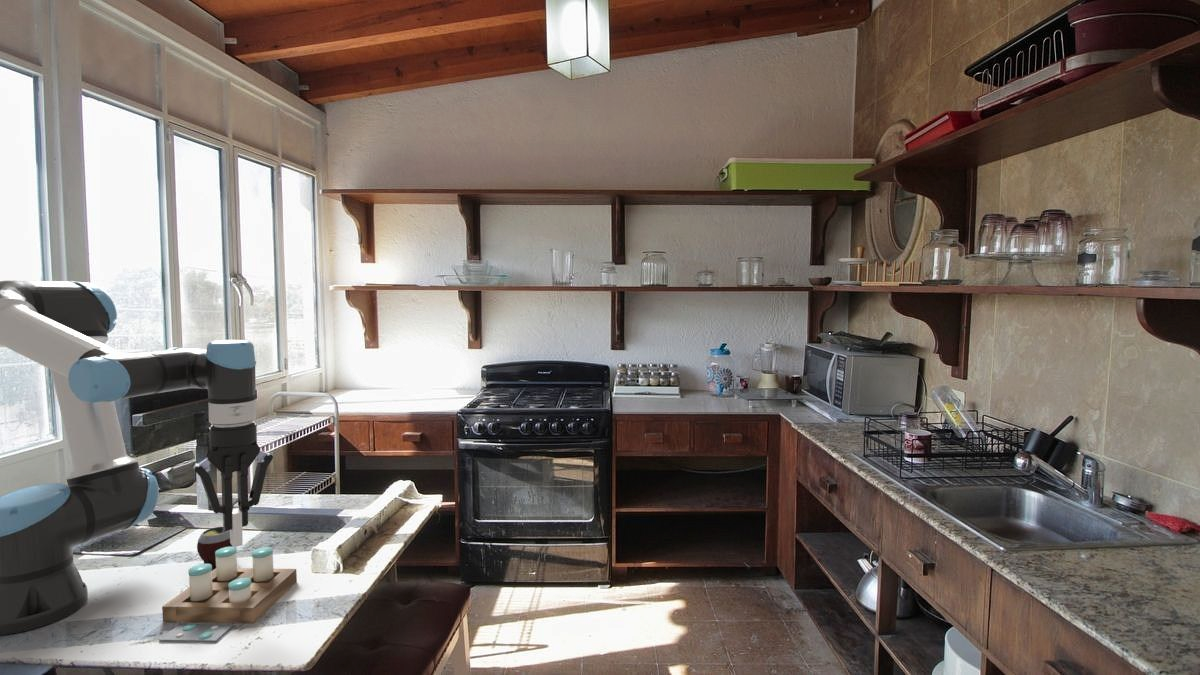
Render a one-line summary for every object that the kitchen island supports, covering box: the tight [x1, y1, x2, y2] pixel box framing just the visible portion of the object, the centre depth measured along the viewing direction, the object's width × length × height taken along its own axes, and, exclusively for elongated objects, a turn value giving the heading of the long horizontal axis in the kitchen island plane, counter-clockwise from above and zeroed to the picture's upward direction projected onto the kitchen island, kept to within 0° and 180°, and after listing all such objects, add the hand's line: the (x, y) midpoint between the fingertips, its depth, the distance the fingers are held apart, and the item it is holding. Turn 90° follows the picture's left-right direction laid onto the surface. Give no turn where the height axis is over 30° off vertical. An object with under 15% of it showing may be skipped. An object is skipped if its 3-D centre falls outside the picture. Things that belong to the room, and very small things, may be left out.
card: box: [158, 622, 235, 644], centre depth 103 cm, size 10×5×1 cm, turn 90°
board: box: [161, 567, 298, 624], centre depth 114 cm, size 17×15×3 cm
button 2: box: [215, 547, 238, 581], centre depth 118 cm, size 4×4×6 cm
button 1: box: [188, 563, 213, 601], centre depth 110 cm, size 4×4×6 cm
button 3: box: [228, 578, 251, 603], centre depth 110 cm, size 4×4×6 cm
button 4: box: [251, 546, 274, 582], centre depth 118 cm, size 4×4×6 cm
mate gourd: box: [196, 497, 238, 571], centre depth 129 cm, size 8×8×15 cm
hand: (236, 543), depth 110 cm, fingers closed
